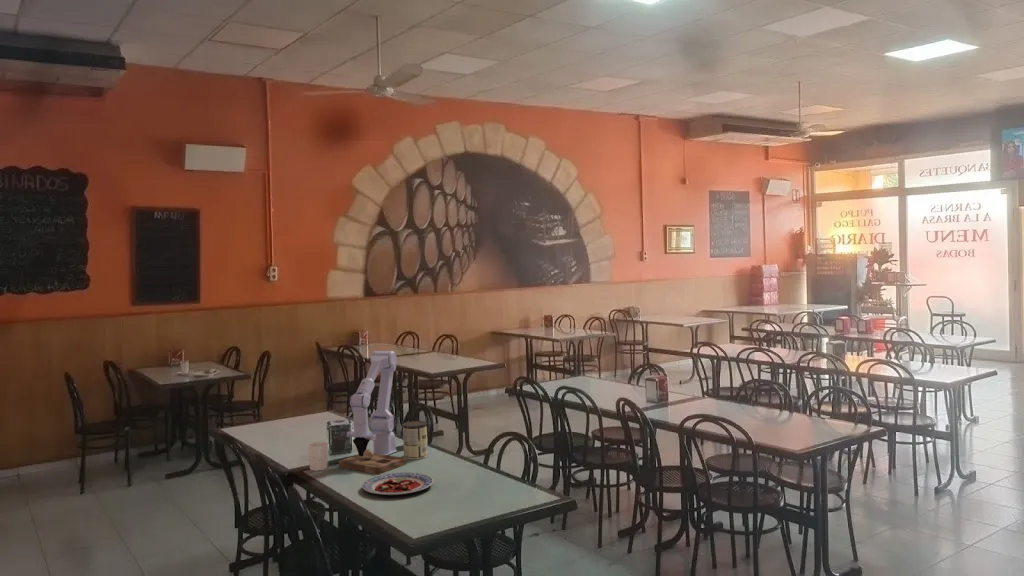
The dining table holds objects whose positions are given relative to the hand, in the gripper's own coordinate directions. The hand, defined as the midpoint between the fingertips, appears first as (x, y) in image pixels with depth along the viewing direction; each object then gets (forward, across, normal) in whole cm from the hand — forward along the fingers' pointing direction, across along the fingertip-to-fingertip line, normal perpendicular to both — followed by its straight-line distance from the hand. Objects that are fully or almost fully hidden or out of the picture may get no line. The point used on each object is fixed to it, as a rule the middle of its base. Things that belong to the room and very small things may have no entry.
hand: (362, 455), depth 310 cm
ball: (-1, +4, 0) cm, 4 cm away
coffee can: (+4, +12, +19) cm, 23 cm away
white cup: (+4, -11, -13) cm, 18 cm away
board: (+3, +6, 0) cm, 6 cm away
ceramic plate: (+4, +35, -18) cm, 39 cm away
